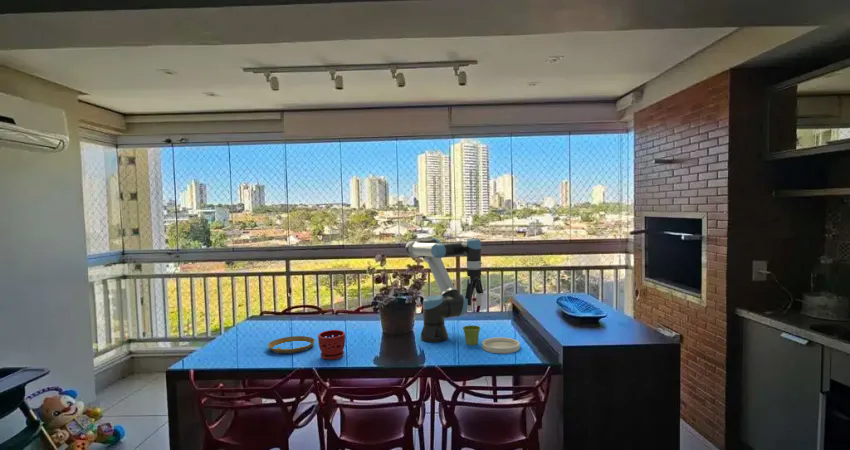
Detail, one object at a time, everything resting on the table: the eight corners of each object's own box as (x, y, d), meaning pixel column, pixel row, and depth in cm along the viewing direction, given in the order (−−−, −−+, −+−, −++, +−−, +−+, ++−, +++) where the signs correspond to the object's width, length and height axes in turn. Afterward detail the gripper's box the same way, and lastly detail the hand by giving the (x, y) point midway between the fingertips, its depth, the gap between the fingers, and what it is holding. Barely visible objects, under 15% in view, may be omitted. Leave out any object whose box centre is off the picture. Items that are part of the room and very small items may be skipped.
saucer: (476, 350, 223) (476, 345, 223) (489, 340, 239) (489, 335, 239) (513, 355, 213) (512, 350, 213) (524, 344, 230) (524, 339, 230)
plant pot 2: (480, 346, 229) (479, 330, 228) (462, 346, 231) (461, 329, 230) (481, 341, 238) (481, 325, 238) (464, 341, 240) (463, 325, 239)
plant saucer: (324, 345, 242) (324, 339, 242) (290, 358, 221) (290, 351, 221) (293, 339, 254) (292, 334, 254) (258, 351, 234) (258, 345, 233)
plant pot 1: (314, 357, 220) (313, 333, 220) (336, 351, 229) (335, 328, 229) (328, 363, 211) (327, 338, 210) (351, 356, 220) (350, 332, 220)
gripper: (472, 272, 220) (473, 314, 221) (488, 265, 243) (488, 303, 244) (458, 271, 224) (459, 313, 225) (475, 264, 246) (475, 302, 247)
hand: (474, 308), depth 234 cm, fingers open, 13 cm apart
